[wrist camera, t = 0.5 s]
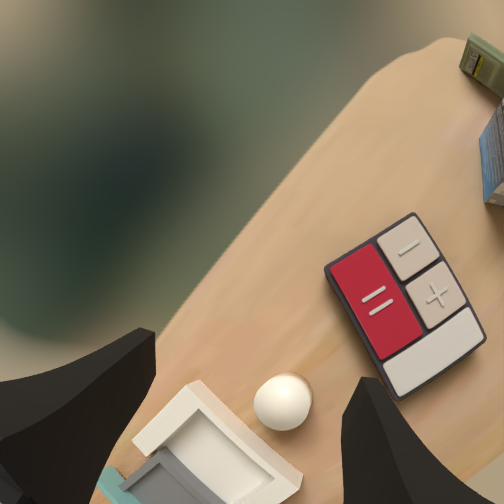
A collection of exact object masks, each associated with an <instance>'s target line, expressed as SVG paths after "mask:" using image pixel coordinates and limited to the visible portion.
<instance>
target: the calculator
mask: <svg viewBox="0 0 504 504" xmlns="http://www.w3.org/2000/svg"><path fill="white" fill-rule="evenodd" d="M324 272H325V275H326V277H327V279H328V281H329V282H330V284H331V286H332V288H333V289H334V291H335V293H336V295H337V296H338V298H339V300H340V302H341V304H342V305H343V307H344V309H345V311H346V312H347V314H348V316H349V318H350V320H351V321H352V323H353V325H354V327H355V329H356V331H357V332H358V334H359V336H360V338H361V340H362V342H363V343H364V345H365V347H366V349H367V351H368V353H369V355H370V356H371V358H372V360H373V362H374V364H375V366H376V368H377V370H378V372H379V374H380V376H381V378H382V380H383V382H384V384H385V385H386V387H387V389H388V391H389V393H390V395H391V396H392V397H393V399H394V400H395V401H397V402H398V401H401V400H403V399H404V398H406V397H408V396H409V395H411V394H412V393H414V392H416V391H417V390H419V389H420V388H422V387H424V386H425V385H427V384H428V383H430V382H431V381H433V380H434V379H436V378H437V377H439V376H440V375H442V374H443V373H444V372H446V371H447V370H449V369H450V368H452V367H453V366H454V365H456V364H457V363H458V362H460V361H461V360H462V359H464V358H465V357H466V356H468V355H469V354H470V353H472V352H473V351H474V350H476V349H477V348H478V347H479V346H481V345H482V344H483V343H484V342H485V341H486V339H487V337H486V334H485V332H484V330H483V328H482V326H481V324H480V322H479V319H478V317H477V315H476V313H475V312H474V310H473V308H472V306H471V304H470V302H469V300H468V298H467V296H466V294H465V292H464V291H463V289H462V287H461V285H460V283H459V282H458V280H457V278H456V276H455V275H454V273H453V271H452V269H451V268H450V266H449V264H448V263H447V261H446V259H445V258H444V256H443V254H442V253H441V251H440V249H439V248H438V246H437V245H436V243H435V241H434V240H433V238H432V237H431V235H430V234H429V232H428V230H427V229H426V227H425V226H424V224H423V223H422V221H421V220H420V218H419V217H418V216H417V214H416V213H414V212H412V213H410V214H408V215H407V216H405V217H404V218H402V219H400V220H399V221H397V222H396V223H394V224H393V225H391V226H389V227H388V228H386V229H385V230H383V231H381V232H380V233H378V234H377V235H375V236H373V237H372V238H370V239H369V240H367V241H365V242H364V243H362V244H360V245H359V246H357V247H355V248H354V249H352V250H351V251H349V252H347V253H346V254H344V255H342V256H341V257H339V258H337V259H336V260H334V261H332V262H331V263H329V264H327V265H326V266H325V267H324Z"/></svg>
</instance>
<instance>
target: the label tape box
mask: <svg viewBox="0 0 504 504" xmlns="http://www.w3.org/2000/svg"><path fill="white" fill-rule="evenodd" d="M479 139H480V149H481V159H482V171H483V189H484V202H485V203H490V204H495V205H500V206H504V96H503V98H502V100H501V102H500V104H499V105H498V107H497V109H496V111H495V113H494V114H493V116H492V118H491V120H490V121H489V123H488V125H487V126H486V128H485V130H484V131H483V133H482V135H481V136H480V138H479Z"/></svg>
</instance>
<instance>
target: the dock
mask: <svg viewBox="0 0 504 504" xmlns="http://www.w3.org/2000/svg"><path fill="white" fill-rule="evenodd" d="M132 441H133V443H134V444H135V445H136V446H137V447H138V448H139V449H140V451H141V452H142V453H143V454H144V455H145V456H146V457H147V456H149V455H150V454H152V453H154V452H155V451H158V452H159V451H160V450H162V449H163V448H165V447H167V448H168V449H169V450H170V451H171V452H172V453H173V454H174V455H175V456H176V457H177V458H178V459H179V460H180V461H181V462H182V463H183V464H184V465H185V466H186V467H187V468H188V469H189V470H190V471H191V472H192V473H193V474H194V475H195V476H196V477H197V478H198V479H199V480H200V481H202V482H203V483H204V484H205V485H206V486H207V487H208V488H209V489H210V490H211V491H213V492H214V493H215V494H216V495H217V496H218V497H219V498H221V499H222V500H223V501H224V502H225V503H227V504H279V503H281V502H282V501H284V500H285V499H287V498H288V497H290V496H291V495H292V494H294V493H295V492H297V491H298V490H299V489H300V486H301V482H302V478H303V474H302V473H301V472H299V471H298V470H297V469H296V468H295V467H293V466H292V465H291V464H290V463H289V462H287V461H286V460H285V459H284V458H283V457H281V456H280V455H279V454H278V453H277V452H276V451H274V450H273V449H272V448H271V447H270V446H269V445H267V444H266V443H265V442H264V441H263V440H262V439H261V438H260V437H258V436H257V435H256V434H255V433H254V432H253V431H252V430H251V429H250V428H249V427H248V426H246V425H245V424H244V423H243V422H242V421H241V420H240V419H239V418H238V417H237V416H236V415H235V414H234V413H233V412H232V411H231V410H230V409H229V408H228V407H227V406H225V405H224V404H223V403H222V402H221V401H220V400H219V399H218V398H217V397H216V396H215V395H214V394H213V393H212V392H211V391H210V390H209V389H208V387H207V386H206V385H205V384H204V383H203V382H202V381H201V380H197V381H195V382H192V383H190V384H187V385H185V386H184V388H183V389H182V390H181V391H180V392H179V393H178V394H177V395H176V396H175V397H174V398H173V399H172V400H171V401H170V402H169V403H168V404H167V405H166V406H165V407H164V408H163V409H162V410H161V411H160V412H159V413H158V414H157V415H156V416H155V417H154V418H153V419H152V420H151V421H150V422H149V423H148V424H147V425H146V426H145V427H144V428H143V429H142V430H141V431H140V432H139V433H138V434H137V435H136V436H135V437H134V438H133V439H132Z"/></svg>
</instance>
